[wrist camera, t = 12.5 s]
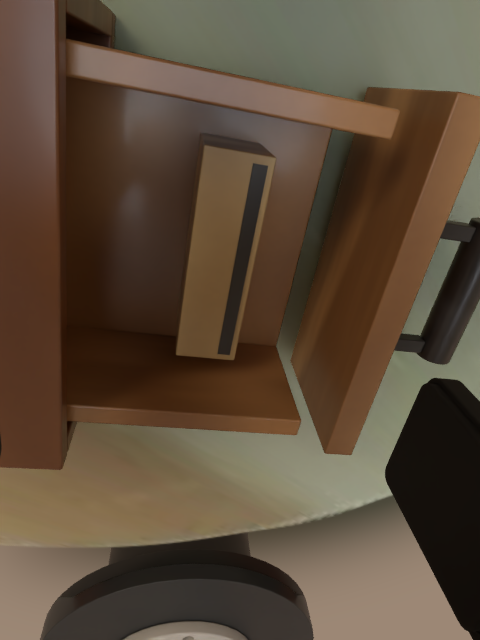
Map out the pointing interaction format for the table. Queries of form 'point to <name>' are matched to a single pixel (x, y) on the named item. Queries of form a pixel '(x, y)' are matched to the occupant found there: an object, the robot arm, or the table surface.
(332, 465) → the table surface
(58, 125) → the cabinet
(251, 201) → the tan block with strip
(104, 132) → the drawer
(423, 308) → the table surface
